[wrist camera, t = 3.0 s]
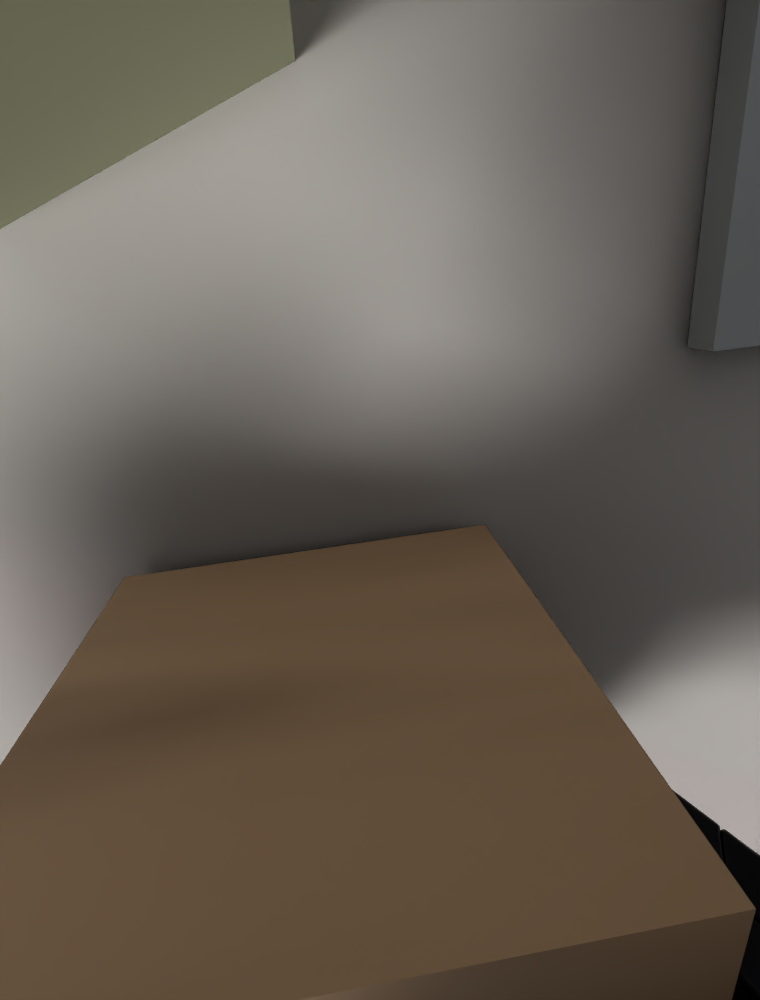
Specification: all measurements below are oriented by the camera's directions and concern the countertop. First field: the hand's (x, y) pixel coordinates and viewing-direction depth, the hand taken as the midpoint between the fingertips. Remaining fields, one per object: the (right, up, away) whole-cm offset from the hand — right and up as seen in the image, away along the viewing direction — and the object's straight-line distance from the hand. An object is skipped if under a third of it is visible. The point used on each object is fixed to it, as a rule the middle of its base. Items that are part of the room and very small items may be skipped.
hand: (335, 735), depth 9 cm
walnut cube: (0, 0, +1) cm, 1 cm away
